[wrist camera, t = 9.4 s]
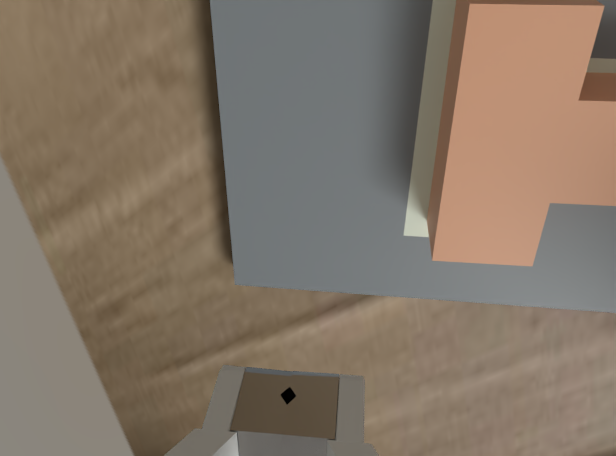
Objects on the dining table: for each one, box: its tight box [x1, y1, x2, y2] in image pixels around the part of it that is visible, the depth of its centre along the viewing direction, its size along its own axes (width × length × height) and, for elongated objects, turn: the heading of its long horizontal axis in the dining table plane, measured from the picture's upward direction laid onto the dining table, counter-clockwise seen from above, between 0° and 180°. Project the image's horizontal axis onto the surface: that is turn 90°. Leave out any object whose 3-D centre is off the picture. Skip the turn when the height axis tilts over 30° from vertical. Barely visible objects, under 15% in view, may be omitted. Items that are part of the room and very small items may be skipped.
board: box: [210, 0, 616, 313], centre depth 23 cm, size 19×20×1 cm
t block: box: [427, 0, 616, 266], centre depth 21 cm, size 10×10×3 cm
